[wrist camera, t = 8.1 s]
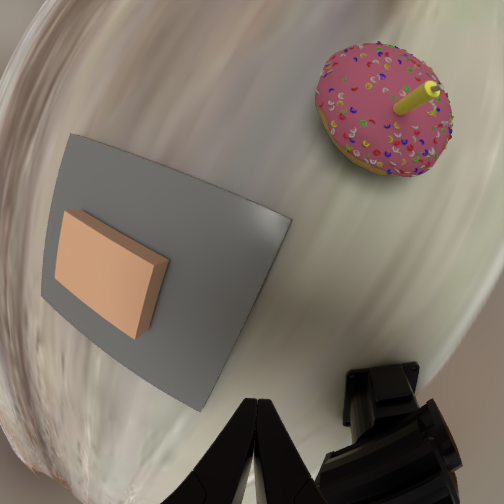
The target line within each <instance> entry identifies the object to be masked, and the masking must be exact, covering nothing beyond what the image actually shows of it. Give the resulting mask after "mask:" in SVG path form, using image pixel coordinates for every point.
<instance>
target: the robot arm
mask: <svg viewBox="0 0 504 504" xmlns="http://www.w3.org/2000/svg"><path fill="white" fill-rule="evenodd" d="M414 367H415V369H413V370H412V368H414ZM419 369H420V367H419V365H418V363H416V362H413V363H407V364H396V365H389V366H381V367H373V368H370V369H360V370H351V371H349V372H347V374H346V383H345V398H344V410H343V426H345V427H350V426H351V433H352V445H350V446H347V447H345V448H343V449H340V450H338V451H336V452H334V451H332V452H330V453H327V454H326V456H325V459H324V461H323V464H322V466H321V468H320V470H319V473H318V475H317V477H316V479H315V482H314V480H313V478H311V475H310V473H309V471H308V470H307V468H306V466H305V464H304V462H303V460H302V459H301V457H300V455H299V453H298V451H297V449H296V447H295V446H294V444H293V442H292V440H291V438H290V436H289V434H288V432H287V430H286V428H285V426H284V424H283V423H282V421H281V419H280V417H279V415H278V413H277V411H276V409H275V407H274V405H273V403H272V401H271V400H270V399H258V403H257V399H256V398H245V399H244V400H243V401H242V403H241V404H240V406H239V407H238V408H237V410H236V411H235V413H234V414H233V416H232V417H231V419H230V420H229V421H228V423H227V424H226V426H225V427H224V428H223V430H222V431H221V433H220V434H219V435H218V437H217V438H216V440H215V441H214V442H213V444H212V445H211V446H210V448H209V449H208V450H207V452H206V453H205V454H204V456H203V457H202V458H201V460H200V461H199V462H198V464H197V465H196V466H195V467H194V469H193V471H191V472H190V474H189V475H188V476H187V477H186V479H185V480H184V481H183V482H182V483H181V484H180V485H179V486H178V488H177V489H176V490H175V491H174V492H173V493H172V494H171V495H169V496H168V497H167V498H166V499H165V500H164V501H163V502H162V503H160V504H241V503H242V500H243V496H244V492H245V488H246V484H247V480H248V476H249V472H250V468H251V463H252V459H253V452H254V472H255V486H256V499H257V504H460V499H459V491H458V485H457V478H456V475H455V473H454V471H456V470H457V469H459V468H461V467H462V466H463V465H462V461H461V458H460V455H459V452H458V448H457V446H456V444H455V442H454V439H453V437H452V435H451V433H450V430H449V428H448V426H447V424H446V422H445V420H444V418H443V416H442V414H441V413H440V411H439V409H438V407H437V405H436V403H435V401H434V399H430V400H429V401H427V402H426V403H427V404H425V405H424V406H422V407H421V408H420V407H419V405H418V402H417V400H416V398H415V395H414V393H415V389H416V384H417V379H418V374H419ZM352 375H354V377H352V378H351V377H350V376H352ZM256 415H257V416H256ZM348 421H349V422H348ZM255 428H256V429H255ZM254 440H255V442H254Z"/></svg>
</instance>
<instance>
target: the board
mask: <svg viewBox="0 0 504 504" xmlns="http://www.w3.org/2000/svg"><path fill="white" fill-rule="evenodd" d="M67 210H83V211H84V212H86V213H88V214H89V215H91V216H93V217H94V218H96V219H98V220H99V221H101V222H103V223H105V224H106V225H108V226H110V227H111V228H113V229H115V230H117V231H118V232H120V233H122V234H124V235H125V236H127V237H129V238H131V239H132V240H134V241H136V242H138V243H139V244H141V245H143V246H145V247H147V248H148V249H150V250H152V251H154V252H156V253H158V254H159V255H161V256H163V257H165V258H167V259H169V262H168V265H167V268H166V271H165V274H164V278H163V281H162V284H161V287H160V291H159V294H158V298H157V301H156V304H155V308H154V312H153V315H152V319H151V322H150V326H149V330H148V331H146V332H145V333H143V334H142V335H141V336H139V337H138V338H137V339H135V340H134V339H133V338H131V337H130V336H128V335H127V334H125V333H124V332H123V331H121V330H120V329H118V328H117V327H115V326H114V325H113V324H111V323H110V322H109V321H107V320H106V319H105V318H103V317H102V316H100V315H99V314H98V313H97V312H95V311H94V310H93V309H91V308H90V307H89V306H88V305H86V304H85V303H84V302H83V301H81V300H80V299H79V298H78V297H76V296H75V295H74V294H73V293H72V292H70V291H69V290H68V289H67V288H66V287H64V286H63V285H62V284H61V283H60V282H59V281H58V280H56V279H55V269H56V260H57V252H58V245H59V238H60V232H61V226H62V221H63V216H64V211H67ZM291 220H292V219H291V218H288V217H286V216H284V215H282V214H279V213H277V212H275V211H273V210H271V209H268V208H266V207H264V206H261V205H259V204H257V203H255V202H252V201H250V200H248V199H245V198H243V197H241V196H238V195H236V194H234V193H231V192H229V191H226V190H224V189H222V188H219V187H217V186H214V185H212V184H209V183H207V182H204V181H202V180H200V179H197V178H195V177H192V176H190V175H187V174H184V173H182V172H179V171H177V170H174V169H172V168H169V167H166V166H164V165H161V164H158V163H156V162H153V161H150V160H148V159H145V158H142V157H140V156H137V155H134V154H131V153H129V152H126V151H123V150H120V149H117V148H114V147H112V146H109V145H106V144H103V143H100V142H97V141H94V140H91V139H88V138H85V137H82V136H79V135H76V134H71V133H70V136H69V139H68V142H67V145H66V148H65V152H64V155H63V158H62V162H61V165H60V169H59V173H58V177H57V181H56V185H55V189H54V194H53V198H52V203H51V208H50V214H49V219H48V226H47V232H46V239H45V247H44V256H43V267H42V282H41V296H42V297H43V298H44V299H45V300H46V301H47V302H48V303H49V304H50V305H51V306H52V307H53V308H54V309H55V310H56V311H57V312H58V313H59V314H60V315H61V316H62V317H64V318H65V319H66V320H67V321H68V322H69V323H70V324H71V325H73V326H74V327H75V328H76V329H77V330H78V331H80V332H81V333H82V334H83V335H84V336H86V337H87V338H88V339H89V340H90V341H92V342H93V343H94V344H95V345H97V346H98V347H99V348H101V349H102V350H103V351H104V352H106V353H107V354H108V355H110V356H111V357H112V358H114V359H115V360H117V361H118V362H119V363H121V364H122V365H124V366H125V367H126V368H128V369H129V370H131V371H132V372H134V373H135V374H137V375H138V376H140V377H141V378H143V379H144V380H146V381H147V382H149V383H150V384H152V385H154V386H155V387H157V388H158V389H160V390H162V391H163V392H165V393H167V394H168V395H170V396H172V397H173V398H175V399H177V400H179V401H180V402H182V403H184V404H186V405H188V406H189V407H191V408H193V409H195V410H197V411H199V412H201V410H202V409H203V407H204V405H205V403H206V401H207V399H208V397H209V395H210V393H211V391H212V389H213V387H214V385H215V383H216V381H217V379H218V377H219V375H220V373H221V371H222V369H223V367H224V365H225V363H226V360H227V358H228V356H229V354H230V352H231V350H232V348H233V346H234V344H235V342H236V340H237V338H238V336H239V333H240V331H241V329H242V327H243V325H244V323H245V321H246V319H247V317H248V315H249V312H250V310H251V308H252V306H253V304H254V302H255V300H256V297H257V295H258V293H259V291H260V289H261V287H262V284H263V282H264V280H265V278H266V276H267V274H268V271H269V269H270V267H271V265H272V263H273V261H274V258H275V256H276V254H277V252H278V249H279V247H280V245H281V243H282V241H283V238H284V236H285V234H286V232H287V229H288V227H289V225H290V223H291Z"/></svg>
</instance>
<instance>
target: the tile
mask: <svg viewBox="0 0 504 504" xmlns="http://www.w3.org/2000/svg"><path fill="white" fill-rule="evenodd" d="M168 262H169V259H167V258H165V257H163V256H161V255H159V254H158V253H156V252H154V251H152V250H150V249H148V248H147V247H145V246H143V245H141V244H139V243H138V242H136V241H134V240H132V239H131V238H129V237H127V236H125V235H124V234H122V233H120V232H118V231H117V230H115V229H113V228H111V227H110V226H108V225H106V224H105V223H103V222H101V221H99V220H98V219H96V218H94V217H93V216H91V215H89V214H88V213H86V212H84V211H83V210H67V211H64V216H63V221H62V226H61V232H60V238H59V245H58V252H57V260H56V269H55V279H56V280H58V281H59V282H60V283H61V284H62V285H63V286H64V287H66V288H67V289H68V290H69V291H70V292H72V293H73V294H74V295H75V296H76V297H78V298H79V299H80V300H81V301H83V302H84V303H85V304H86V305H88V306H89V307H90V308H91V309H93V310H94V311H95V312H97V313H98V314H99V315H100V316H102V317H103V318H105V319H106V320H107V321H109V322H110V323H111V324H113V325H114V326H115V327H117V328H118V329H120V330H121V331H123V332H124V333H125V334H127V335H128V336H130V337H131V338H133V339H134V340H135V339H137V338H138V337H139V336H141V335H142V334H143V333H145V332H146V331H148V330H149V326H150V322H151V319H152V315H153V312H154V308H155V304H156V301H157V298H158V294H159V291H160V287H161V284H162V281H163V278H164V274H165V271H166V268H167V265H168Z"/></svg>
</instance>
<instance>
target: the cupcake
mask: <svg viewBox="0 0 504 504" xmlns="http://www.w3.org/2000/svg"><path fill="white" fill-rule="evenodd" d="M394 47H395V48H394ZM394 47H393V46H391V45H384V44H381V43H380V42H379V41H378V43H376V44H374V43H368V44H357V45H354V46H351V47H348V48H346V49H344V50H342V51H339V52H337V53H335V54H334V55H332V56H331V57H330V58H329V59H328V61H327V62H326V64H325V67H324V69H323V71H321V72H320V75H321V77H320V80H319V83H318V86H317V90H316V94H315V105H316V108H317V110H318V113H319V115H320V118H321V120H322V123H323V125H324V127H325V129H326V131H327V133H328V134H329V136H330V138H331V139H332V141H333V142H334V144H335V145H336V146H337V148H338V149H339V150H340V151H341V152H342V153H343V154H344V155H345V156H346V157H347V158H348V159H349V160H351V161H352V162H353V163H355V164H357V165H359V166H361V167H363V168H365V169H367V170H369V171H370V172H372V173H375V174H379V175H389V176H399V175H400V176H404V177H415V176H417V175H420V174H423V173H425V172H427V171H428V170H429V169H431V168H432V166H433V165H434V164H435V162H436V160H437V159H438V157H439V156H440V154H441V153H442V151H443V150H444V149H445V148H446V145H447V143H448V141H449V140H450V139H451V138H452V136H451V133H452V126H453V123H452V119H453V118H454V116H453V117H452V111H451V107H450V104H449V103H450V101H449V99H448V93H445V91H444V86H443V85H442V84H441V83H440V81H439V80H438V78H437V76H436V75H435V73H434V72H433V70H432V69H431V68H430V67H428V66H427V65H426V63H425V62H424V61H422V62H421V61H420V60H419V59H417V58H416V57H414V56H412V55H413V54H409V53H407V52H406V50H403V49H401V50H400V48H398V47H396V46H394ZM424 63H425V64H424ZM321 73H322V74H321Z"/></svg>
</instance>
